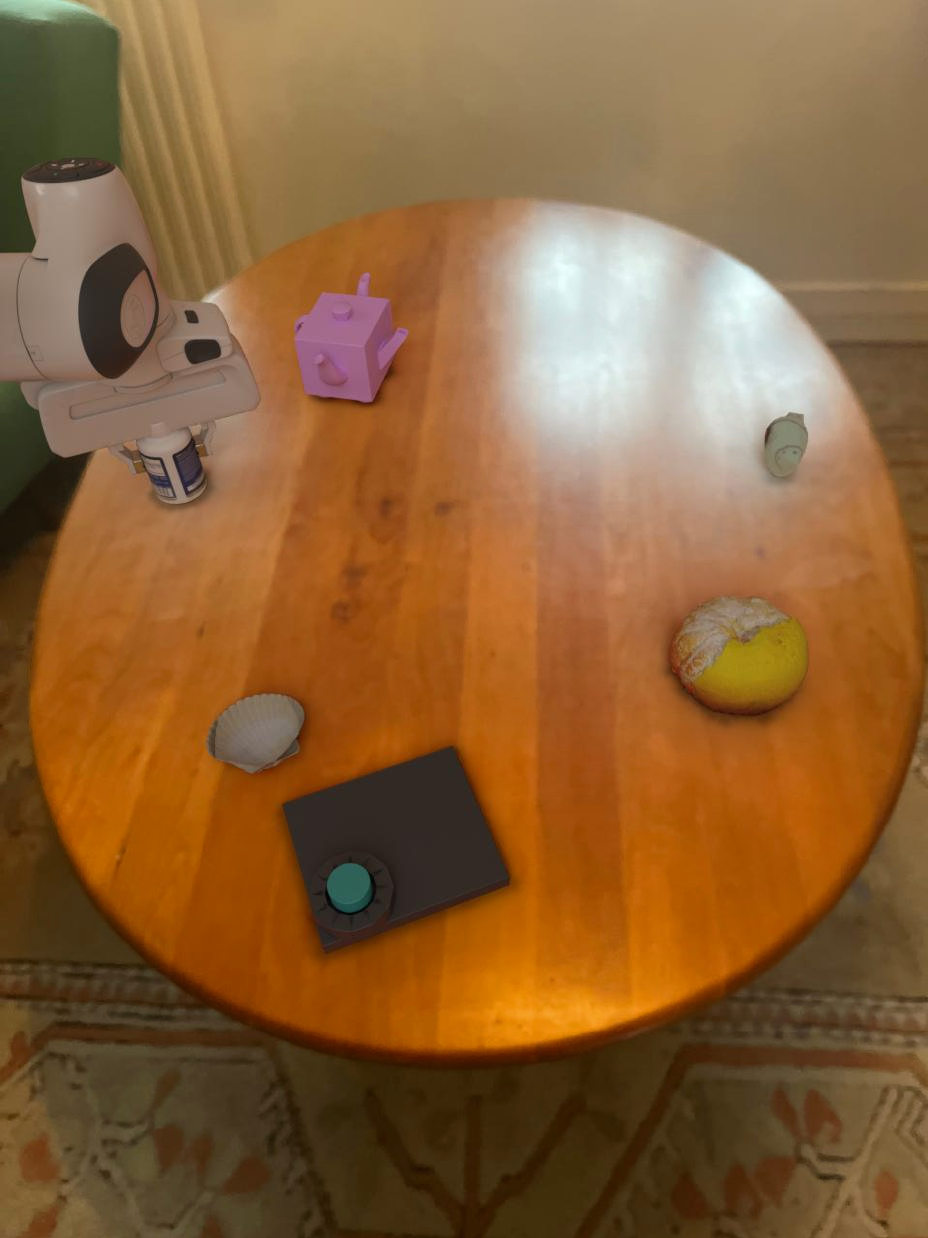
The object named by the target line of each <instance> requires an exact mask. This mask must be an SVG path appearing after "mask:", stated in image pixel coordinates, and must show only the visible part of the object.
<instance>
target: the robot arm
mask: <svg viewBox="0 0 928 1238" xmlns="http://www.w3.org/2000/svg"><path fill="white" fill-rule="evenodd" d="M20 181H21V189H22V194H23V199H24V204H25V208H26V211H27V215H28V218H29V222H30V225H31V229H32V232H33V235H34V238H35V244H34V246H33V249H32V251H31V252H0V383H19V388H20V391H21V393H22V395H23V397H24V400H25V401H26V403H27V405H29V406H30V407H31V408H32V409H34V410H37V411H38V412H39V417H40V422H41V426H42V429H43V433H44V437H45V439H46V442H47V444H48V446H49V448H50V451H51V452H52V453H54V454H55V455H58V456H59V457H62V458H71V457H74V456H79V455H82V454H86V453H90V452H95V451H97V450H98V451H99V450H102V449H105V448H107V449H108V451H109V453H110V454H111V456H113V457H115V458H116V459H118V460H119V461H120V462H122V463H124V464H125V465H127V467H128V469H129V472H130V474H131V476H136V475H140V474H143V473H147V470H146V468H145V465H144V463H143V460H142V458H141V455H140V453H139V451H138V449H135V450H131V449H129V448H128V447H127V446H126V445H124V444H126V443H129V442H134V441H136V440H138V439H142V438H146V437H150V436H152V435H151V433H152V428H151V425H153V424H157V423H161V422H164V423H165V425H166V428H168V429H170V430H169V431H173V430H177V429H181V428H185V427H189V428H190V427H193V426H197V425H200V431H199V433H198V434H194V435H192V436H193V440H194V444H195V447H196V451H197V454H198V457H199V458H200V459H201V458H205V457H209V456H213V455H214V453H213V450H212V446H211V442H212V439H213V438H214V437H213V436H214V435H215V432H216V429H217V425H216V420H220V419H224V418H228V417H233V416H236V415H240V414H244V413H249V412H252V411H255V410H256V409H257V408H258V407H259V404H260V403H261V401H262V396H261V392H260V390H259V387H258V384H257V380H256V378H255V375H254V372H253V370H252V368H251V365H250V363H249V361H248V358H247V356H246V354H245V351H244V349H243V347H242V345H241V343H240V341H239V340H238V338H237V337H236V336H235V335H234V334H233V333H232V332H231V330H230V327H229V324H228V321H227V319H226V316H225V315H224V313H223V312H222V310H221V309H220V307H219V306H218V305H217V304H216V303H213V302H206V301H189V300H178V299H170V298H169V295H168V294H167V292H166V290H165V289H164V288H163V286H162V284H161V282H160V280H159V275H158V259H157V255H156V250H155V247H154V244H153V241H152V239H151V235H150V233H149V230H148V229H149V228H148V227H147V224H146V221H145V219H144V216H143V214H142V211H141V209H140V206H139V204H138V202H137V199H136V197H135V194H134V193H133V191H132V188H131V186H130V184H129V183H128V180H127V179H126V177H125V176H124V173H123V171H122V170H121V169H120V168H119V167H118V165H116V164H115V163H113V162H111V161H107V160H105V159H102V158H100V157H99V158H98V157H65V158H63V157H62V158H59V159H55V160H47V161H44V162H41V163H38V164H35V165H34V166H32V167H30V168H28V170H27V171H25V172H24V173H23V174H22V176H21V178H20Z"/></svg>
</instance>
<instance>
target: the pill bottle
mask: <svg viewBox="0 0 928 1238" xmlns="http://www.w3.org/2000/svg"><path fill="white" fill-rule="evenodd" d="M151 428H152V433H151V435H152V436H150V437H146V438H142V439H138V440H135V444H136V448H137V450H138V451H139V453H140V455H141V458H142V460H143V463H144V465H145V468H146V470H147V472H146V473H147V475H148V478H149V480H150V484H151V487H152V488H153V491H154V493H155V495H156V497H157V498H158V499H159V500H160V501H162V502H164V503H167V504H169V505H182V504H185V503H189V502H192V501H194V500H195V499H197V498H199V497H200V496H201V495H202V494H203V493H204V492H205V490H206V488H207V484H208V480H207V477H206V472H205V470H204V467H203V464H202V461H201V458H199V457H198V454H197V451H196V447H195V444H194V440H193V436H194V435H193V434H192V431H191V429H190V426H189V427H185V428H181V429H177V430H173V431H169V430H170V429H168V428H166V425H165V423H164V422H161V423H157V424H153V425H151Z"/></svg>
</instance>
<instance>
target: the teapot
mask: <svg viewBox="0 0 928 1238" xmlns="http://www.w3.org/2000/svg"><path fill="white" fill-rule="evenodd" d="M370 281H371V273H369V272H365V273H363V274H362V275H361V277H360V278H359V280H358V285H357V289H356V295H355V294H348V293H347V294H346V293H334V292H325V291H323V292H322V293H321V295H319V298H318V299H317V301H316V302H315V304H314V306H313V307H312V308H311V310H310V311H309V313H306V314H303V315H300V316H299V317H298V318H297V320H296V321H295V323H294V326H293V331H294V334H295V336H294V339H293V341H294V347H295V351H296V355H297V356H296V357H297V361H298V365H299V370H300V376H301V379H302V385H303V390H304V394H305V395H310V396H311V395H312V396H319V397H320V398H323V399H324V398H325V399H326V398H335V399H344V400H353V401H358V402H361V403H373V401H374V400H375V398H376V395H377V393H378V391H379V389H380V387H381V385H382V383H383V381H384V379H385V376H386V375H387V374H388V371H389V369H390V366H391V365H392V362H393V361H394V358H395V357H396V354H397V351H398V349H399V348H400V347H401V345H402V344H403V343H404V342H405V340H406V339H407V338H408V336H409V334H410V330H408V329H405V328H403V327H400V326H399V327H397V329H396V330H395V331H394V323H393V314H392V306H391V299H390V298H385V297H376V296H375V297H374V296H371V295H370V288H369V287H370Z"/></svg>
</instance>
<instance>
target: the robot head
mask: <svg viewBox="0 0 928 1238" xmlns="http://www.w3.org/2000/svg"><path fill="white" fill-rule="evenodd" d="M763 442H764V443H763V444H764V445H763V454H764V458H765V463H766V466H767V468H768V469H769V471H770V473H772V474H773V475H774V476H775V477H777V478H785V477H787V476H789V475H790V474H792V473H794V471H795V470H796V469H797V467H799V465H800V463H801V461H802V459H803V457H804V455H805V454H806V450H807V448H808V443H809V431H808V428H807V426H806V425H805V414H804V413H797V412H791V411H789V412H788V413H787V414H786V415H784V416H779V417H778V418H775V419H773V421H772V422H771V423H770V424H769V425H768V426H767V428H766V429H765V433H764V441H763Z"/></svg>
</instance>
